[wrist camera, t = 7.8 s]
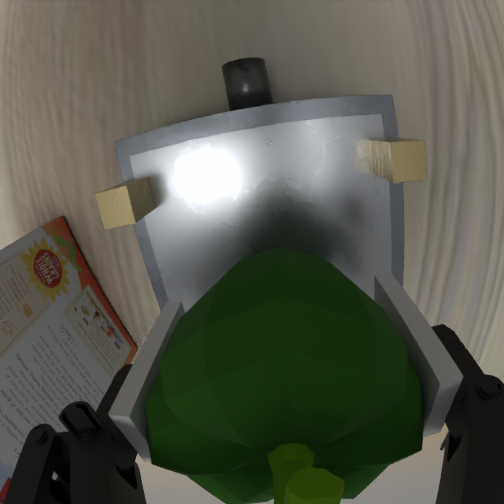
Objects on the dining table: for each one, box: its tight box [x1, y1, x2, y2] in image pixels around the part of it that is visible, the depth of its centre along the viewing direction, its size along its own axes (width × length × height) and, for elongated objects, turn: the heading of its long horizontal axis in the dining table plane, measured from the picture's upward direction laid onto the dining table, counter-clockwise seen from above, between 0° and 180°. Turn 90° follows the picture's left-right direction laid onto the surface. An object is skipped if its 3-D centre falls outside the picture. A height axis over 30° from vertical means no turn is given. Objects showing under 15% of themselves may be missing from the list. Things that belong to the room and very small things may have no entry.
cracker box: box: [0, 216, 138, 504], centre depth 15 cm, size 14×6×21 cm, turn 21°
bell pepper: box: [146, 248, 424, 504], centre depth 9 cm, size 8×8×10 cm
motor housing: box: [95, 58, 428, 313], centre depth 17 cm, size 21×14×9 cm, turn 10°
